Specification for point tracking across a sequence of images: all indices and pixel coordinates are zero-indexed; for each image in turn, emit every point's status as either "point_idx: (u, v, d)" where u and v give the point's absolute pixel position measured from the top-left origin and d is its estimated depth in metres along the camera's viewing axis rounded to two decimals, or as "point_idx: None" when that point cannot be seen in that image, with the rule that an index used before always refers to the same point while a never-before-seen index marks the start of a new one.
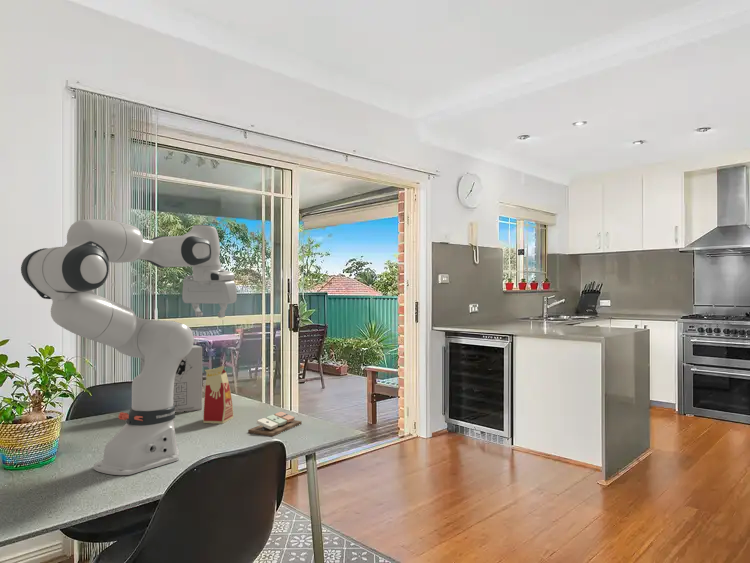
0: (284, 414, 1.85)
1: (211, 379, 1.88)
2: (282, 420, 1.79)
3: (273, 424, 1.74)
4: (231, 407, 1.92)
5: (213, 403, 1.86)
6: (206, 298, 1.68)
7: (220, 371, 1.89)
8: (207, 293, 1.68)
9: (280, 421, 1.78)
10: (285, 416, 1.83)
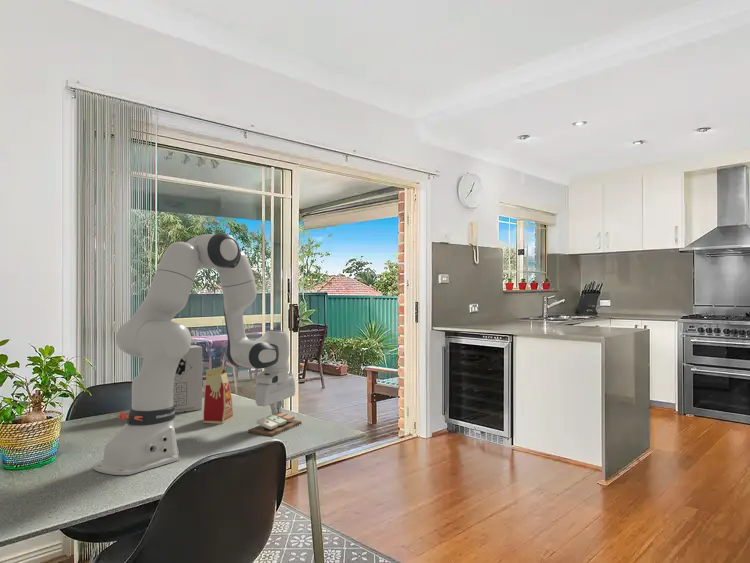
0: (284, 414, 1.85)
1: (211, 379, 1.88)
2: (282, 420, 1.79)
3: (273, 424, 1.74)
4: (231, 407, 1.92)
5: (213, 403, 1.86)
6: None
7: (220, 371, 1.89)
8: None
9: (280, 421, 1.78)
10: (285, 416, 1.83)
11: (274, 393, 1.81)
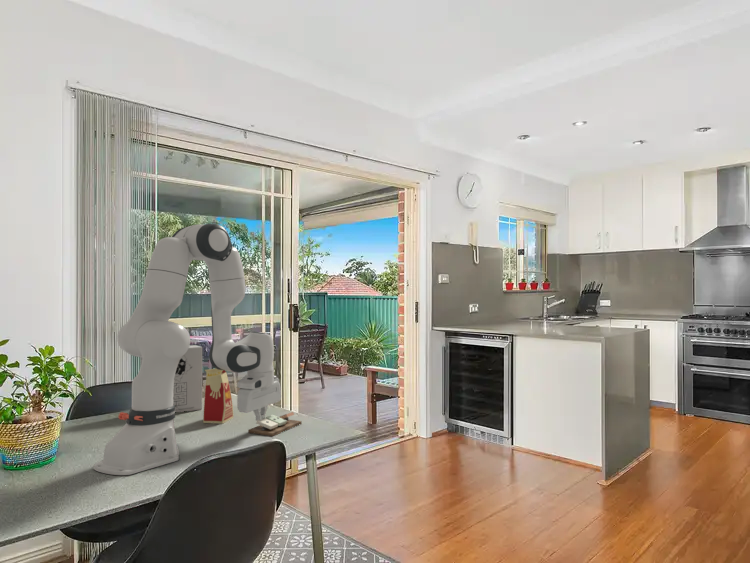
0: None
1: (211, 379, 1.88)
2: (282, 420, 1.79)
3: (273, 424, 1.74)
4: (231, 407, 1.92)
5: (213, 403, 1.86)
6: None
7: (220, 371, 1.89)
8: None
9: (280, 421, 1.78)
10: (283, 415, 1.83)
11: (257, 399, 1.72)
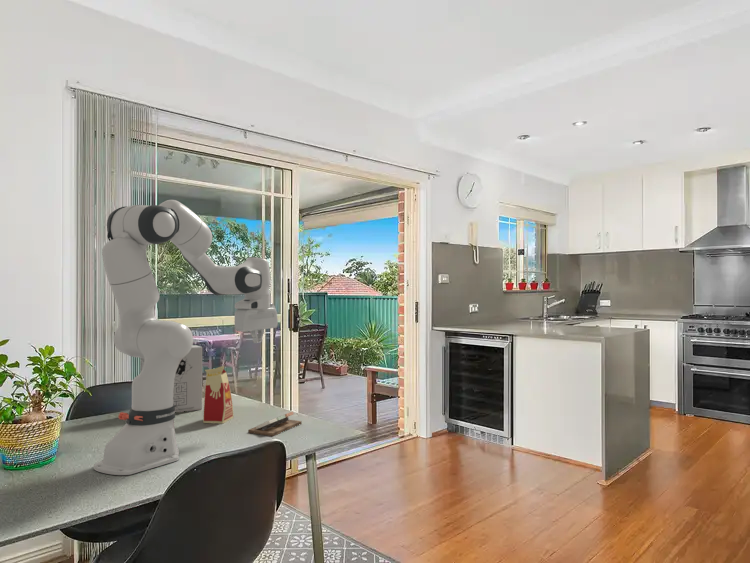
0: None
1: (211, 379, 1.88)
2: (280, 416, 1.79)
3: None
4: (231, 407, 1.92)
5: (213, 403, 1.86)
6: None
7: (220, 371, 1.89)
8: None
9: (278, 417, 1.78)
10: None
11: (253, 320, 1.79)
